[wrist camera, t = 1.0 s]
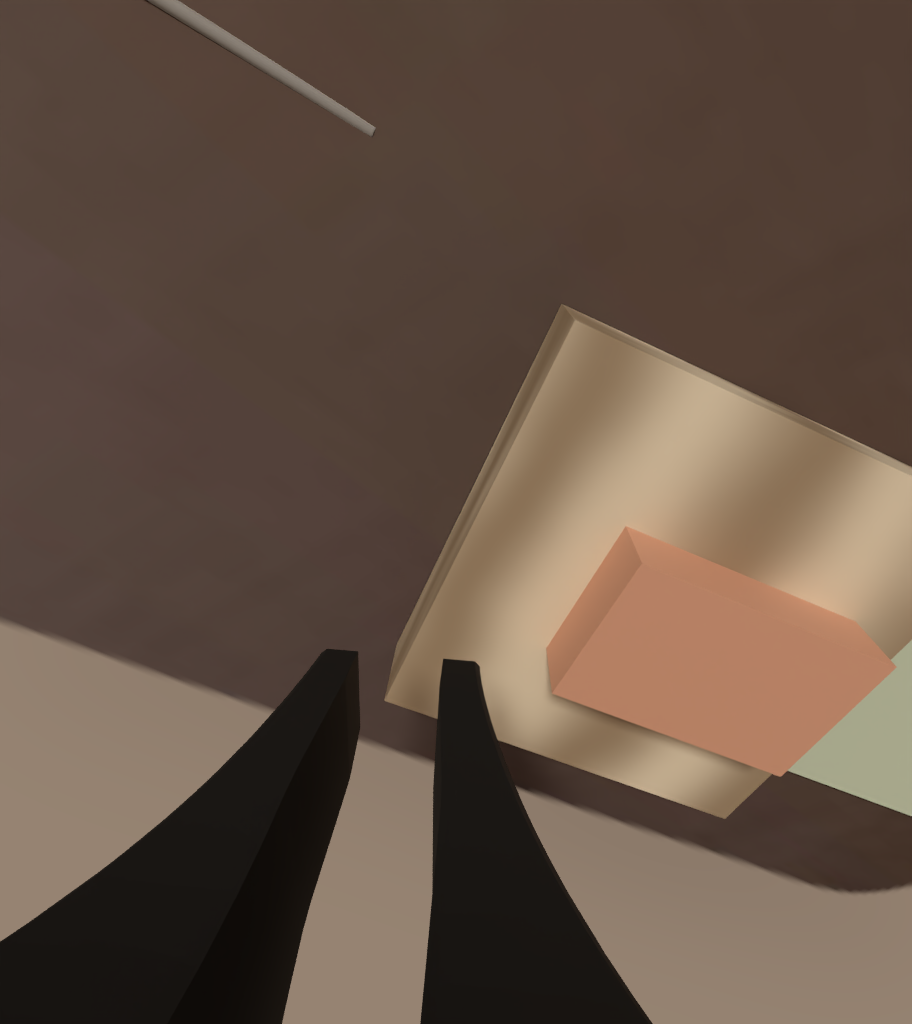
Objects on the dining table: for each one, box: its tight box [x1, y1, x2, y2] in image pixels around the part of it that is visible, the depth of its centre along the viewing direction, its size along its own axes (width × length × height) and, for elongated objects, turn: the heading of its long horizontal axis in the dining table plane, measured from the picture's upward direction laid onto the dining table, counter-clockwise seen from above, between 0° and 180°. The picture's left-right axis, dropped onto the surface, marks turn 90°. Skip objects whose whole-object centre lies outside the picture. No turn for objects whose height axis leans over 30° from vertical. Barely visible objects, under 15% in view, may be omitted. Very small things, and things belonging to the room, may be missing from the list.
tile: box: [546, 526, 897, 777], centre depth 17 cm, size 8×5×2 cm, turn 67°
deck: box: [384, 304, 912, 819], centre depth 19 cm, size 14×14×3 cm
